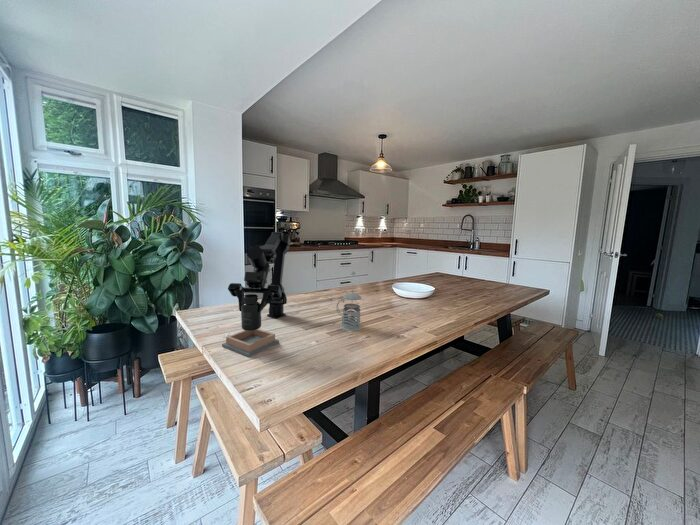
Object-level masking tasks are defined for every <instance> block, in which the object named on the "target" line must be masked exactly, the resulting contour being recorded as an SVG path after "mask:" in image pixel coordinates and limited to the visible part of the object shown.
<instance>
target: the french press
mask: <svg viewBox="0 0 700 525" xmlns="http://www.w3.org/2000/svg"><path fill="white" fill-rule="evenodd" d="M350 275H352V276H354V275H356V272H355V271H351V272H350ZM351 286H352V288H351V290H352V291H351V292H349V293H346V294H344V295H343V296H342V297H343V298H341V299H340V300H339V301H337V303H336V311H337V313H339V312H340V310H339V303H340V302H341V301H342V303H344V302H345V301H343V300H348V301H359V300H362V296H361V295H359V294H357V293H355V292H354V291H353V290H354V284H352V285H351ZM360 307H361V306H360V305H359V304H357V303H352V302H351V303H345V304H343V309H342V312H340V313H339V316H341V317H342V318H341V320H342V321H341V324H340V326H339V327H340V329H341V330H343V331H347V332H358V331H361V330H362V329H363V327H362V325H361V308H360ZM361 328H362V329H361ZM360 329H361V330H360ZM357 330H358V331H357Z"/></svg>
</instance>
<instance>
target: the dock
mask: <svg viewBox="0 0 700 525" xmlns="http://www.w3.org/2000/svg"><path fill="white" fill-rule="evenodd" d="M279 343H280V340H279V339H276V333H273V332H269V331H267V330H263V329H260V328H259V329H257V330H252V331H246V330H242V331H238V332H236V333H233V334H231V335H228V336H226V338H225V342H223V343H221V347H222V348H225V349H227V350H230V351H232V352H235V353H238V354H240V355H241V356H244V357H248V358H250V357H252V356H254V355H256V354H259V353H260V352H262V351H264V350H267V349H268V348H271V347H273V346H275V345H277V344H279Z"/></svg>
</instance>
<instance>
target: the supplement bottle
mask: <svg viewBox="0 0 700 525" xmlns="http://www.w3.org/2000/svg"><path fill="white" fill-rule="evenodd" d="M244 295H245V296H244V300H243V301H244V303H243V304H242V305H241V311H240V320H241V329H242V331H244V330H246V331H252V330H257V329H260V328H261V327H262V311H261V312H259V307H260V304H261V302H259V297H258V296H259V295H258V294H257V293H250V294H244Z"/></svg>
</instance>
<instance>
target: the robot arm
mask: <svg viewBox="0 0 700 525" xmlns="http://www.w3.org/2000/svg"><path fill="white" fill-rule="evenodd" d="M290 246H291V238H290V237H289V236H288V235H286V234H284V233H283V232H281V231H273V232H270V236H269V238H267V241H266V242H265V244H264V245H254V247H252V248H250V249H249V250H248V251H247V252H246V256H247V259H248V260H249V262H250V265H251V267H253V269H252V271H245V273H244V278H243V281H244V282H246V285H247V286H243V285H242V284H241V283H239V282H237V283H236V282H231V283H229V284H228V286H227V287H228V288H227V291H229V293H230V295H231V296H232V297H237V300H238V310H239V312H241V305H242V304H243V303H244V301H243V300H244V296H245V295H246V293H247V294H248V293H250V294H262V298H261V302H260V307H259V312H261V313H262V311H263V310H264V309H265V307H266V306H267V305H269V306H268V314H267V315H266V316H267V317H271V318H273V319H279V318H281V317H284V316H286V315H287V314H286V313H284V306H285V305H287V303H288V300H287V299H288V298H287V295H286V292H285V287H284V286H283V284H282V283H283V274H284V265H285V258H286V256H285V255H286V254H287V253H288V252H289V248H290ZM270 263H271V264H272V263H273V270H272V271H273V272H272V279H271V280H272V281H271V283H269V284H267V283H268V280H267V279H268V275H269V272H270V267H271V265H270ZM266 284H267V287H266Z"/></svg>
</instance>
